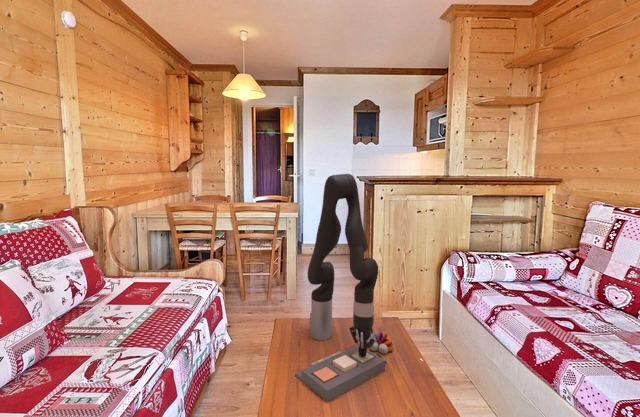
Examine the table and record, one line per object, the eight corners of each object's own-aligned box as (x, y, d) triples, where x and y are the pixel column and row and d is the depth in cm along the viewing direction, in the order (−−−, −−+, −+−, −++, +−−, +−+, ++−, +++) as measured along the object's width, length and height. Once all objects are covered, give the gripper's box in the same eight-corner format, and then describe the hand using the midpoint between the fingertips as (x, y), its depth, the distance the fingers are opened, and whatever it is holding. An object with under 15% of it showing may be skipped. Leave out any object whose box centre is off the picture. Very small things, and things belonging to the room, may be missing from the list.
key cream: (332, 366, 125) (332, 360, 125) (345, 361, 129) (345, 354, 129) (344, 374, 121) (344, 368, 121) (356, 368, 125) (356, 362, 124)
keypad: (295, 375, 125) (295, 365, 125) (351, 350, 143) (351, 340, 142) (327, 402, 111) (327, 390, 111) (385, 370, 129) (385, 360, 128)
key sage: (350, 361, 131) (351, 355, 131) (362, 356, 135) (362, 350, 135) (362, 368, 127) (362, 362, 126) (373, 363, 130) (373, 356, 130)
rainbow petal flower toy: (388, 357, 138) (388, 340, 137) (365, 350, 143) (366, 333, 142) (395, 347, 145) (396, 331, 144) (374, 341, 150) (374, 325, 149)
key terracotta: (313, 379, 120) (313, 372, 120) (326, 373, 124) (326, 366, 123) (324, 388, 115) (324, 381, 115) (337, 381, 119) (337, 374, 119)
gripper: (343, 308, 131) (343, 351, 133) (369, 321, 121) (368, 367, 123) (358, 303, 136) (357, 345, 138) (384, 315, 125) (382, 360, 128)
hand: (362, 356), depth 130 cm, fingers closed
